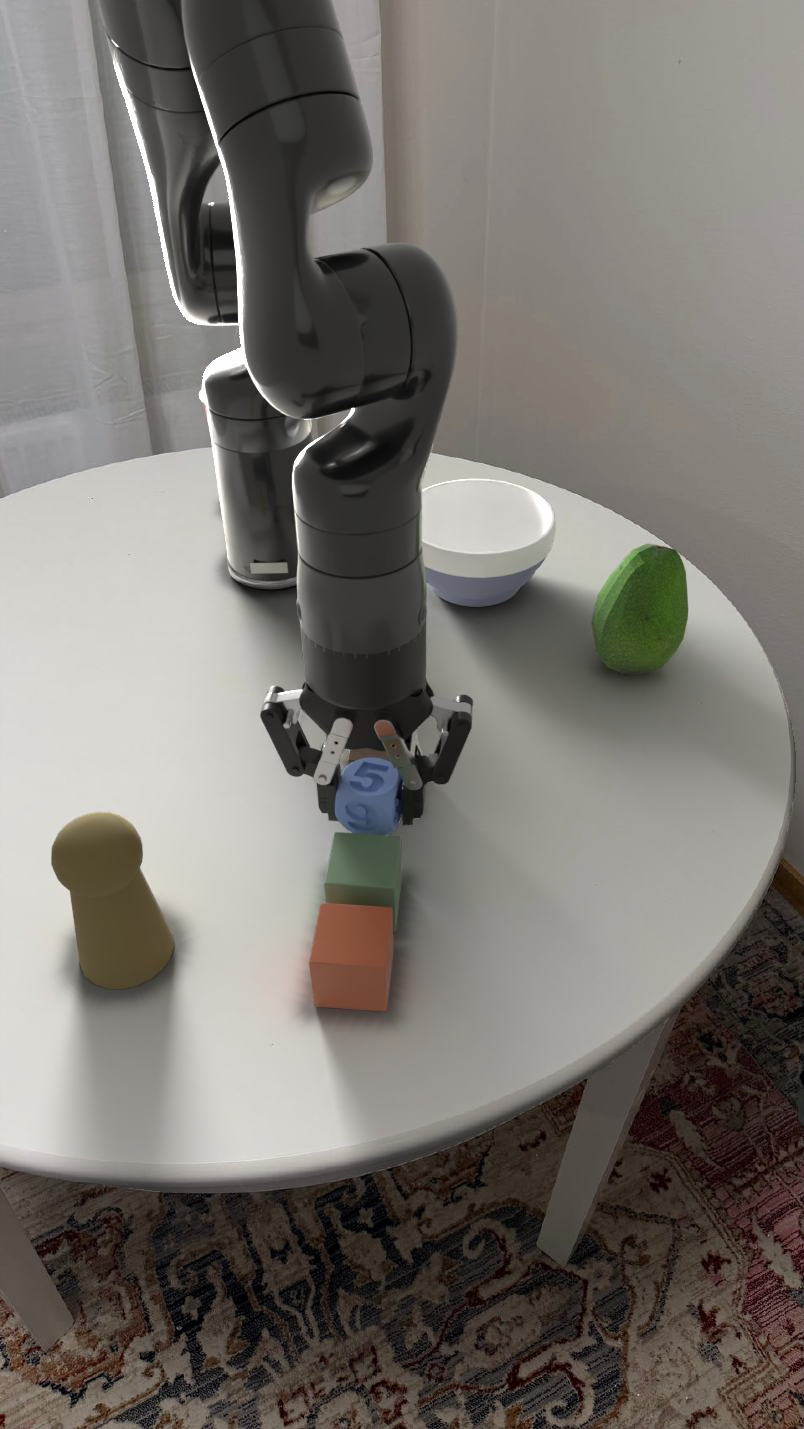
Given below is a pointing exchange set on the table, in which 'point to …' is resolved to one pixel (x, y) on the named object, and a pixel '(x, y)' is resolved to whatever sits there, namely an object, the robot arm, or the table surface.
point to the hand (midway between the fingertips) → (371, 813)
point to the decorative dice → (369, 797)
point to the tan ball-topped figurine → (111, 901)
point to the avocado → (642, 611)
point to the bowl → (483, 539)
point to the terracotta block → (352, 957)
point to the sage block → (365, 871)
